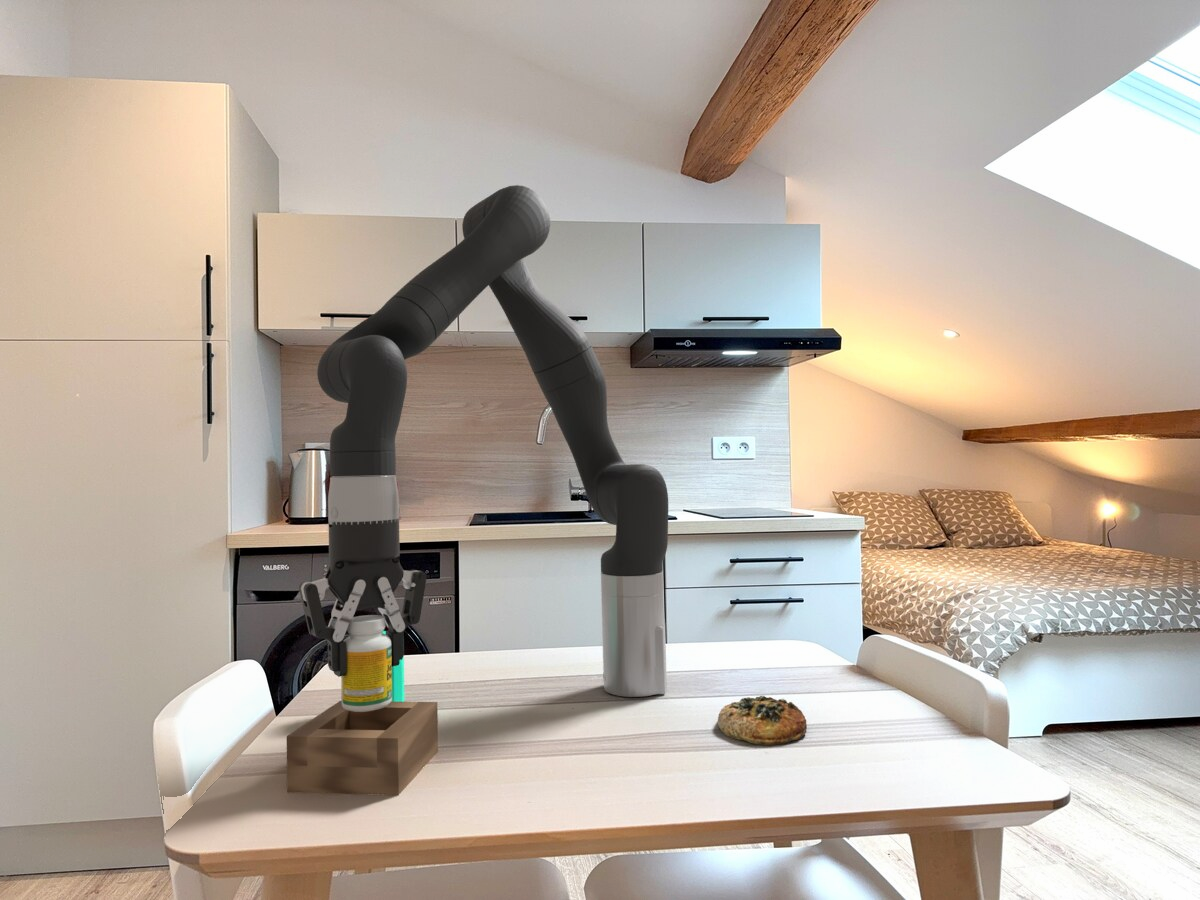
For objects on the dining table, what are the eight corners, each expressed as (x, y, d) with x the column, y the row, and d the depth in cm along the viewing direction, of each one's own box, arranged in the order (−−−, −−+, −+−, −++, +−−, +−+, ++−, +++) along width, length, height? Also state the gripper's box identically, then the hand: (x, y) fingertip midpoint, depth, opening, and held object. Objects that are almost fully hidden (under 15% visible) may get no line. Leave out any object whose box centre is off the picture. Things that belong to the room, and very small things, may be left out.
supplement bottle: (338, 702, 84) (337, 616, 84) (387, 695, 86) (386, 611, 87) (345, 716, 79) (343, 624, 79) (396, 708, 81) (395, 619, 82)
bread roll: (817, 721, 94) (813, 683, 94) (796, 765, 85) (791, 722, 84) (732, 713, 100) (728, 677, 99) (704, 753, 90) (699, 713, 90)
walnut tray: (438, 753, 88) (437, 701, 88) (398, 798, 76) (397, 738, 76) (340, 751, 89) (340, 700, 89) (287, 794, 77) (286, 736, 77)
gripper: (411, 512, 91) (413, 653, 90) (287, 519, 82) (289, 675, 81) (438, 514, 85) (441, 664, 84) (308, 522, 76) (310, 690, 75)
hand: (366, 669), depth 83 cm, fingers closed on supplement bottle, 5 cm apart
